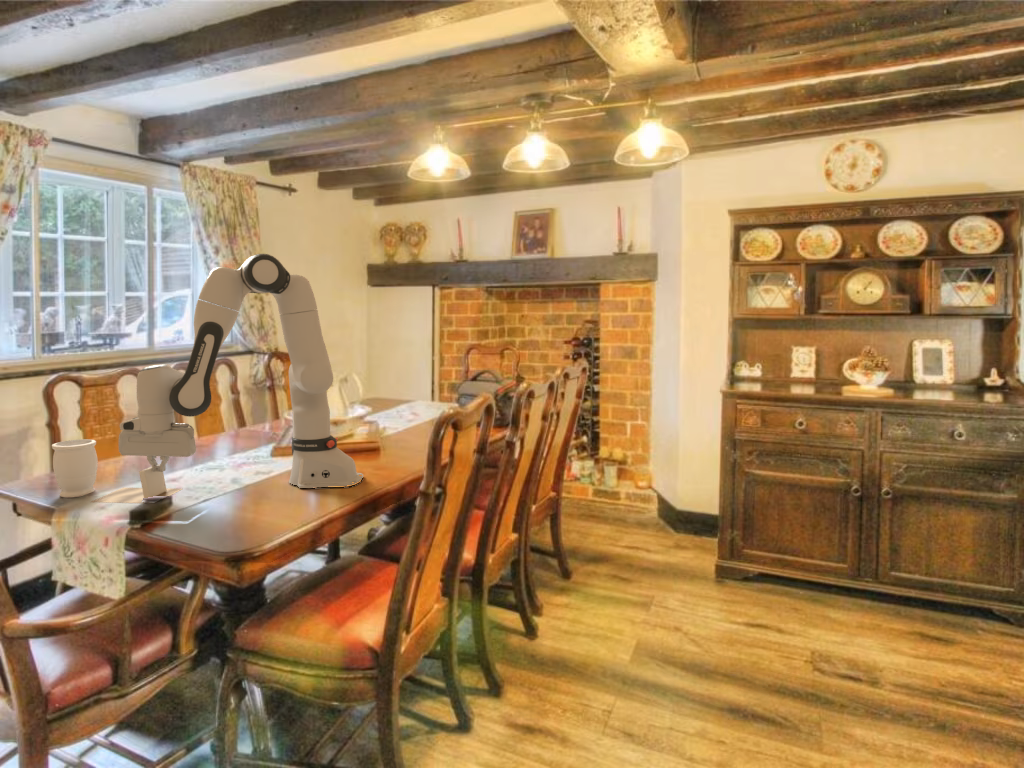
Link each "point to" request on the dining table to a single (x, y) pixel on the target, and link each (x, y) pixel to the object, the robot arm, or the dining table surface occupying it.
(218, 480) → the dining table surface
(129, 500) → the cork mat
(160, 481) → the beige flat block
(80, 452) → the jar
